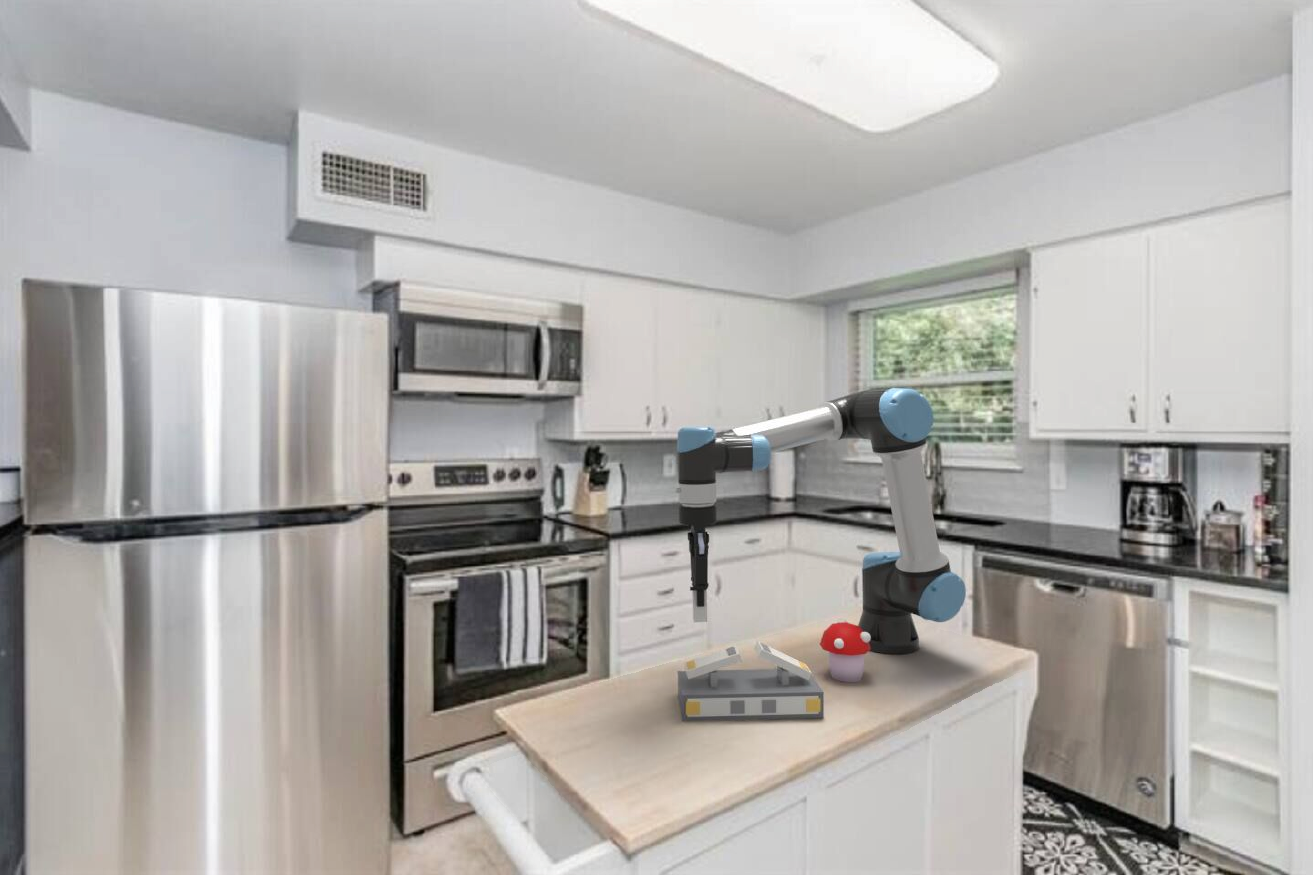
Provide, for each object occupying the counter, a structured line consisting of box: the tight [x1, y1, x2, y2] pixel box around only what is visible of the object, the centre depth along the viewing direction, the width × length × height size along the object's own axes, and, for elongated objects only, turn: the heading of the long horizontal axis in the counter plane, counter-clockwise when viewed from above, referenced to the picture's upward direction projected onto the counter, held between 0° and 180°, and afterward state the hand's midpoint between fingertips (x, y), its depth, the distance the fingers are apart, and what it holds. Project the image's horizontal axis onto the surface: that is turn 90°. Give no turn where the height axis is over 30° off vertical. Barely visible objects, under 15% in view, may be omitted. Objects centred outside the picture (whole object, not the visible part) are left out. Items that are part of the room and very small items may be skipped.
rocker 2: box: [753, 641, 813, 681], centre depth 133 cm, size 11×5×2 cm, turn 93°
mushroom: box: [819, 618, 871, 683], centre depth 147 cm, size 11×11×12 cm
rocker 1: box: [683, 644, 742, 679], centre depth 132 cm, size 11×5×2 cm, turn 91°
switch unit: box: [677, 665, 825, 722], centre depth 132 cm, size 27×12×8 cm, turn 92°
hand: (700, 620), depth 134 cm, fingers closed
